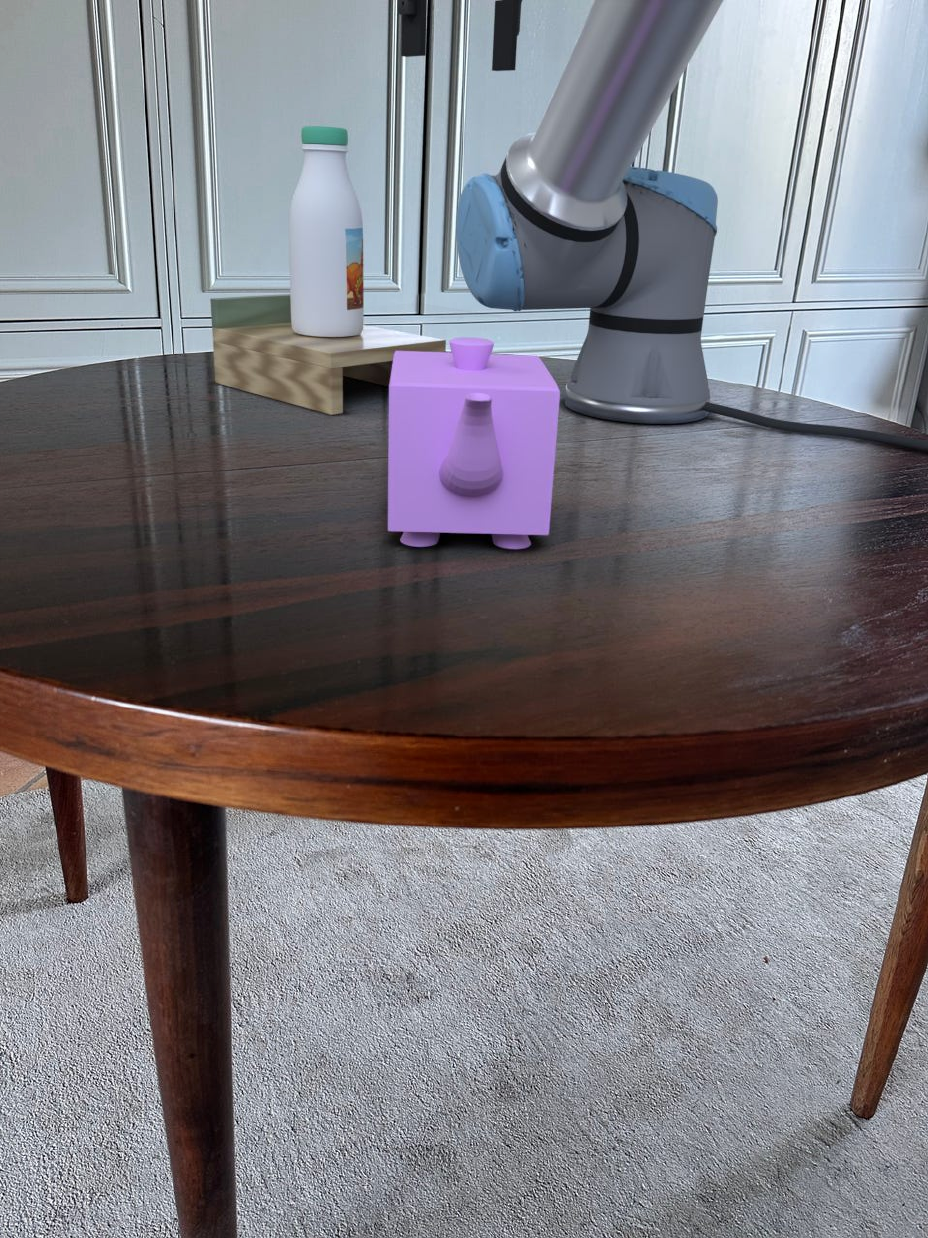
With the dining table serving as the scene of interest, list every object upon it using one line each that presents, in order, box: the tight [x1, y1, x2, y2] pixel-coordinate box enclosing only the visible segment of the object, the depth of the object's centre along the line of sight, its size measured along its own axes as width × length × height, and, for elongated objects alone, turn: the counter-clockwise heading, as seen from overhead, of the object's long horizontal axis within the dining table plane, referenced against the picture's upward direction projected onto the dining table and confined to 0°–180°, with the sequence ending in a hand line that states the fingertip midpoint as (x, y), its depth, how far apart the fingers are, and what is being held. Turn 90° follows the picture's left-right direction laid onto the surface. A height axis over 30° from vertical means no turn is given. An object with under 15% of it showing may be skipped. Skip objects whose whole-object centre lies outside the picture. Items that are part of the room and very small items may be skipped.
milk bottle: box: [288, 125, 365, 337], centre depth 103 cm, size 8×8×20 cm
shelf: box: [209, 293, 447, 416], centre depth 107 cm, size 20×16×9 cm
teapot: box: [387, 336, 561, 550], centre depth 64 cm, size 20×10×12 cm, turn 2°
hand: (460, 63), depth 102 cm, fingers open, 13 cm apart
